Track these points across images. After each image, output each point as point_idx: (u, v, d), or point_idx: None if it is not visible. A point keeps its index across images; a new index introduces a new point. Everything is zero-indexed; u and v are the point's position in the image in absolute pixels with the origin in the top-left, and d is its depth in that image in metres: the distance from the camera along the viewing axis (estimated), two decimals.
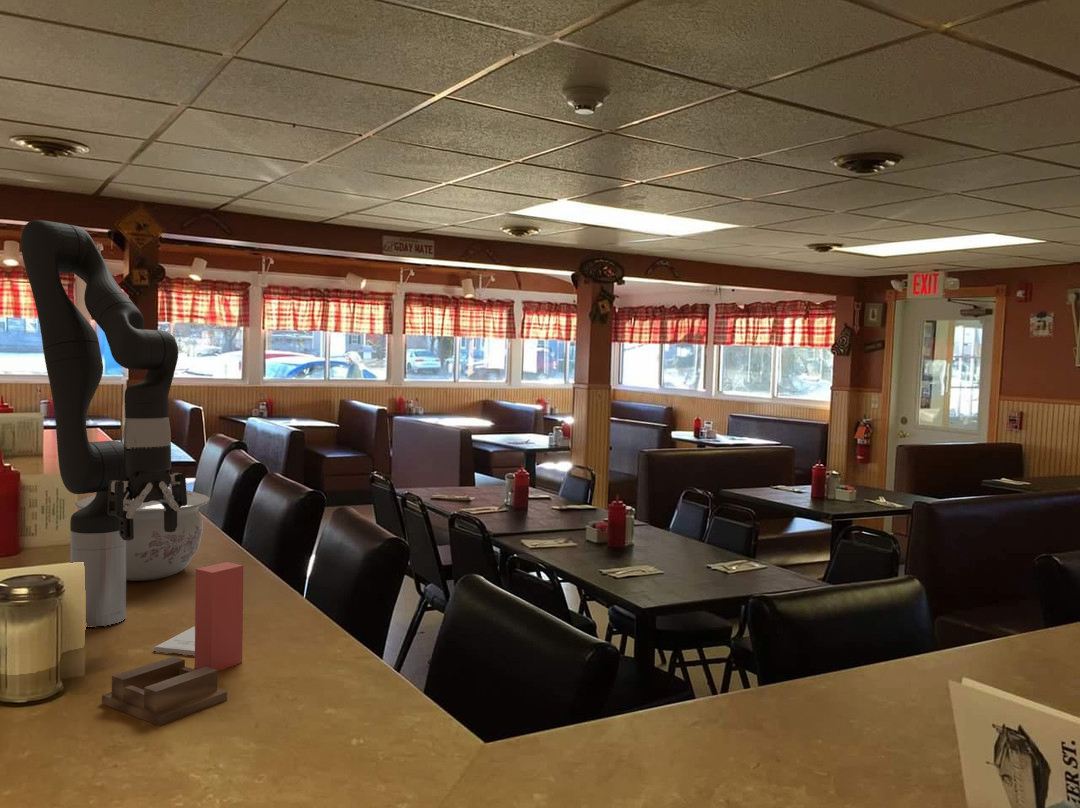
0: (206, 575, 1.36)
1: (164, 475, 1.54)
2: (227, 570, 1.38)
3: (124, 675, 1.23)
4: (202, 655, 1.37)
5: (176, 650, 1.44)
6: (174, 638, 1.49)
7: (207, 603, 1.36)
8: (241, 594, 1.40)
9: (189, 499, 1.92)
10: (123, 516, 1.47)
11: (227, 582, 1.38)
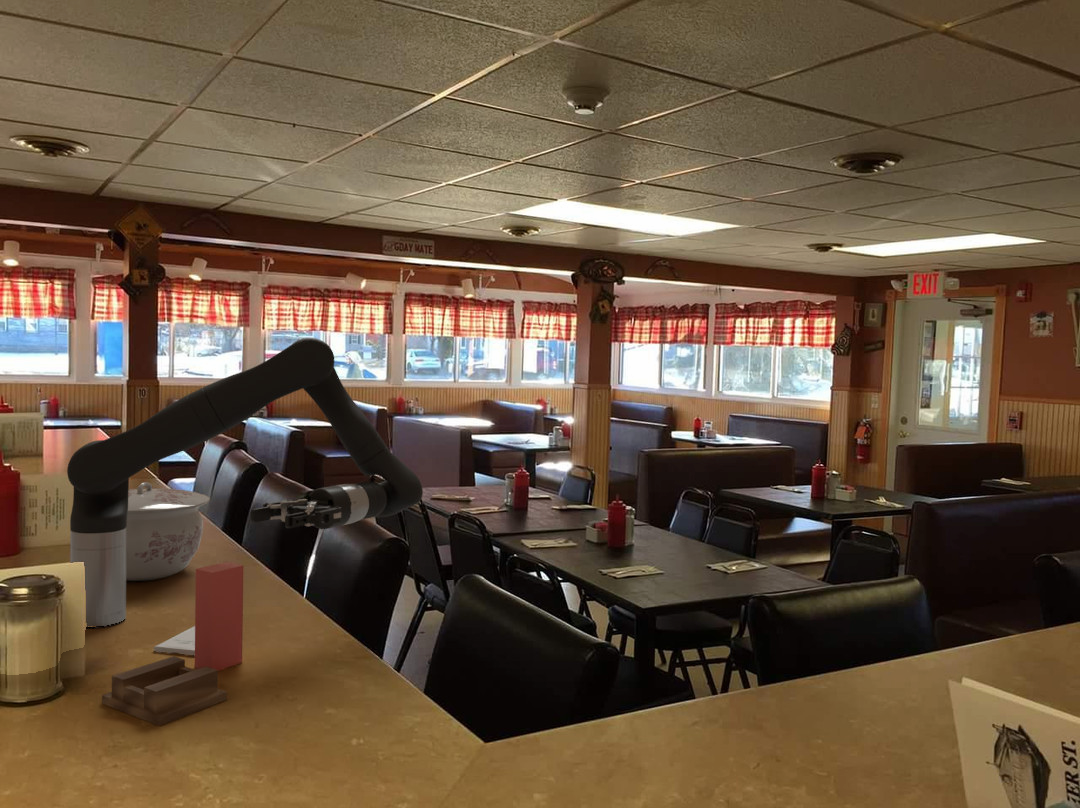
0: (206, 575, 1.36)
1: None
2: (227, 570, 1.38)
3: (124, 675, 1.23)
4: (202, 655, 1.37)
5: (176, 649, 1.44)
6: (174, 638, 1.49)
7: (207, 603, 1.36)
8: (241, 594, 1.40)
9: (189, 499, 1.92)
10: (310, 523, 1.48)
11: (227, 582, 1.38)
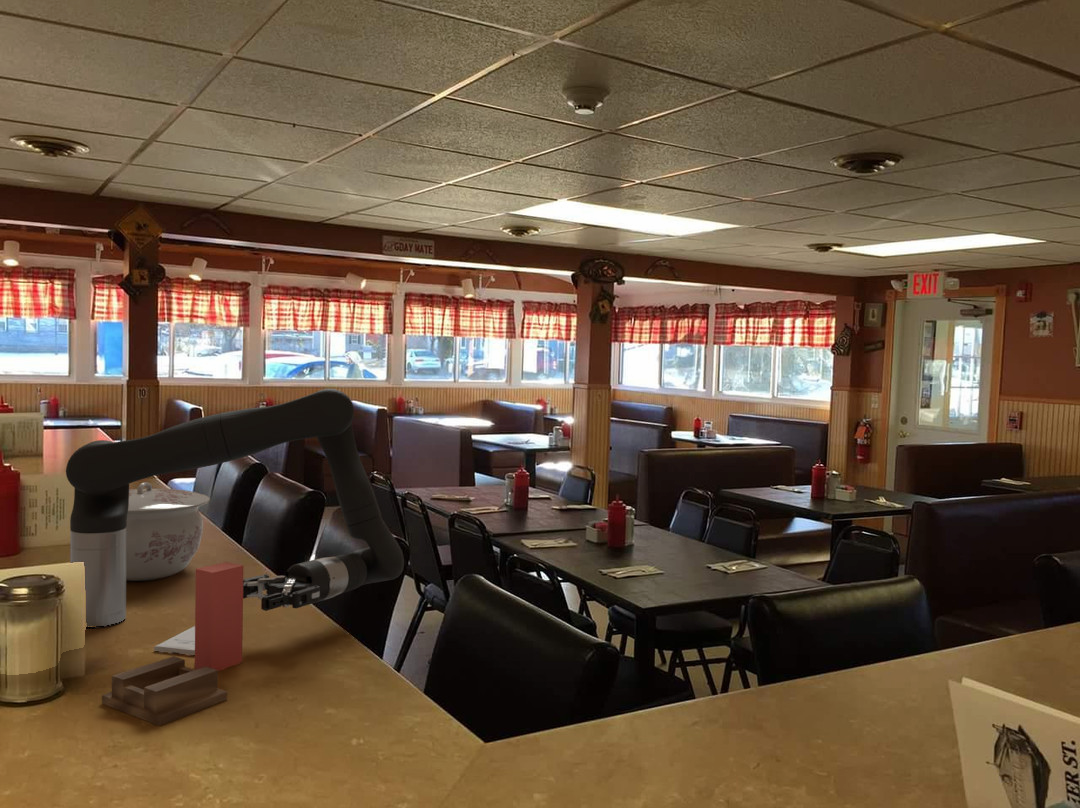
0: (206, 575, 1.36)
1: None
2: (227, 570, 1.38)
3: (124, 675, 1.23)
4: (202, 655, 1.37)
5: (176, 649, 1.44)
6: (175, 637, 1.49)
7: (207, 603, 1.36)
8: (241, 594, 1.40)
9: (189, 499, 1.92)
10: None
11: (227, 582, 1.38)
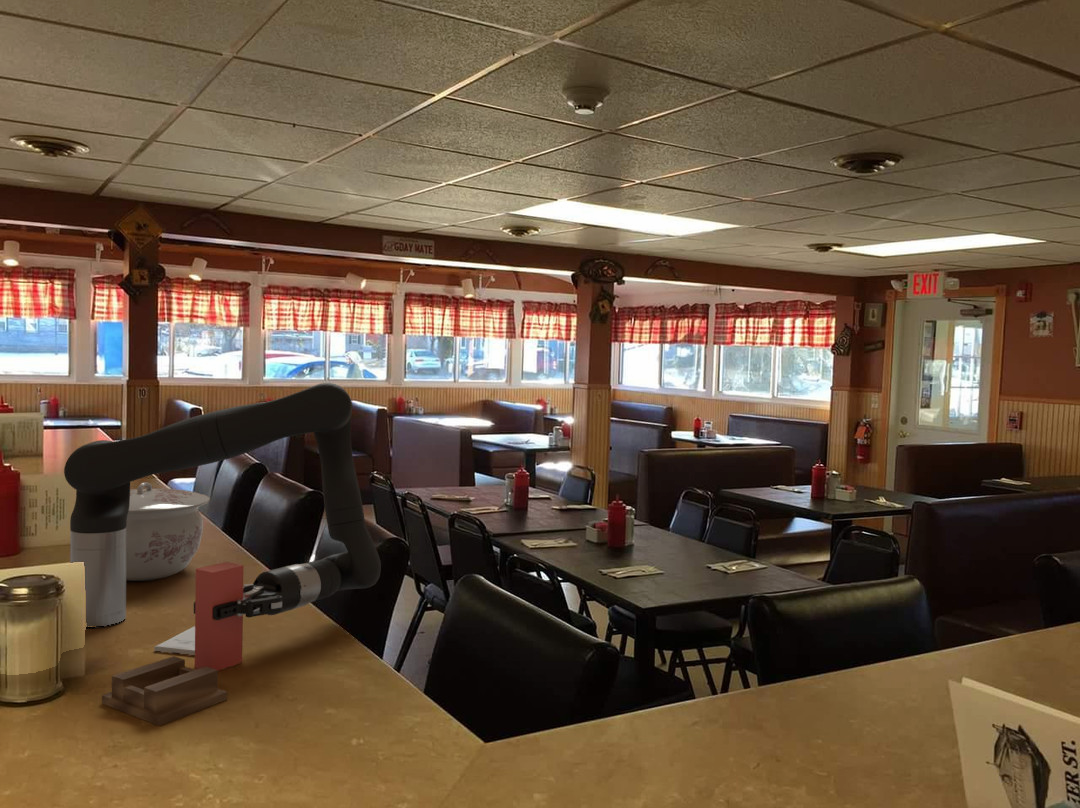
0: (206, 575, 1.36)
1: None
2: (227, 570, 1.38)
3: (124, 675, 1.23)
4: (202, 654, 1.37)
5: (177, 649, 1.44)
6: (175, 638, 1.49)
7: (207, 603, 1.36)
8: (241, 594, 1.40)
9: (189, 499, 1.92)
10: (241, 613, 1.39)
11: (227, 582, 1.38)
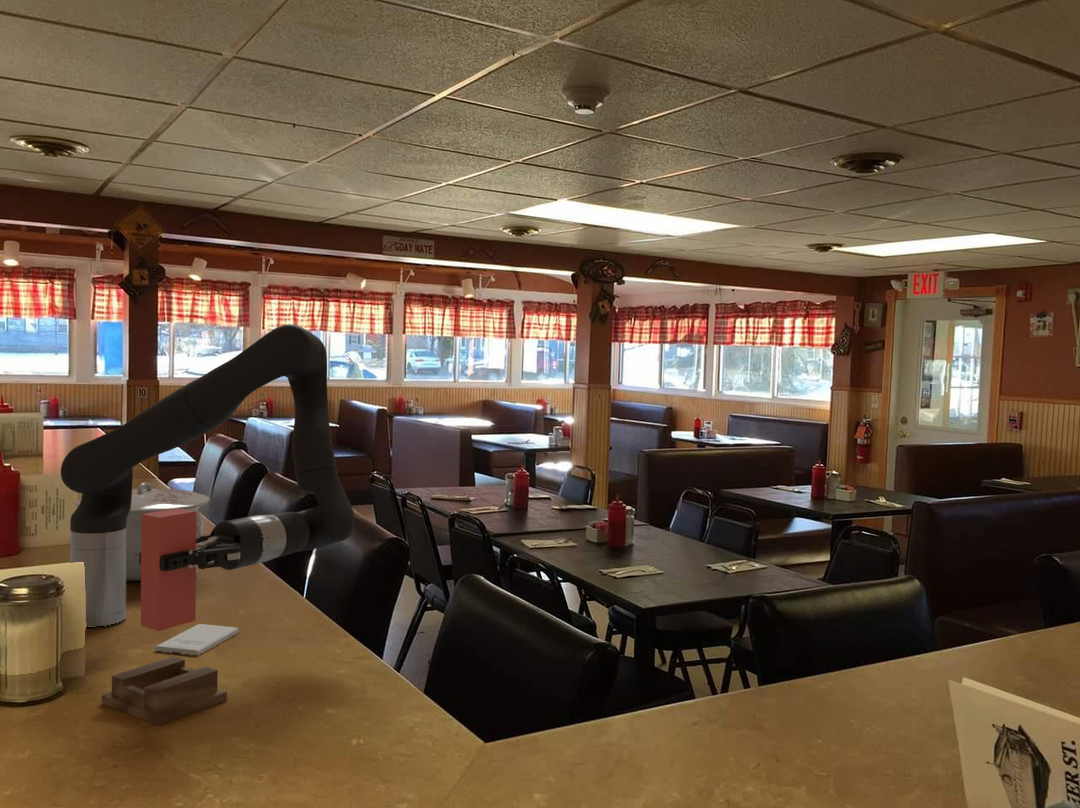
0: (153, 521, 1.21)
1: None
2: (177, 516, 1.22)
3: (124, 675, 1.23)
4: (149, 611, 1.22)
5: (177, 649, 1.44)
6: (175, 637, 1.49)
7: (154, 552, 1.21)
8: (194, 544, 1.25)
9: (189, 499, 1.92)
10: None
11: (177, 529, 1.22)
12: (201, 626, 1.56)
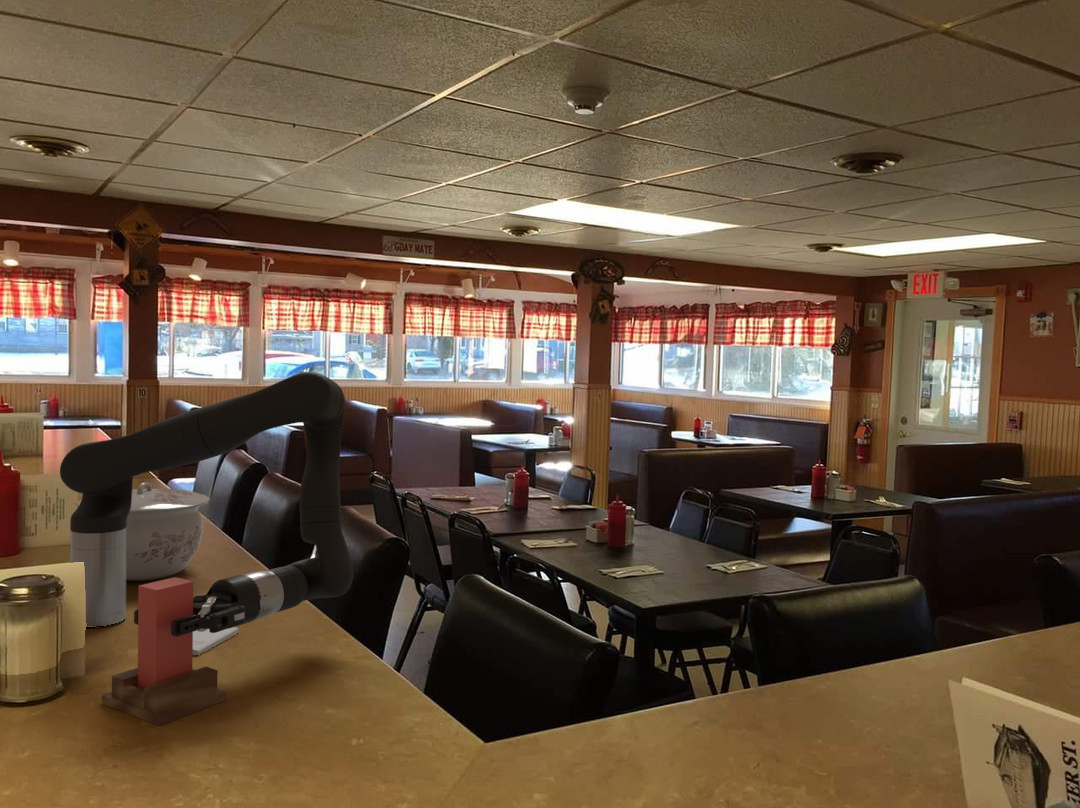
0: (150, 593, 1.21)
1: None
2: (174, 587, 1.23)
3: (124, 675, 1.23)
4: (145, 682, 1.22)
5: None
6: None
7: (151, 624, 1.21)
8: (191, 613, 1.25)
9: (189, 499, 1.92)
10: None
11: (174, 600, 1.23)
12: None
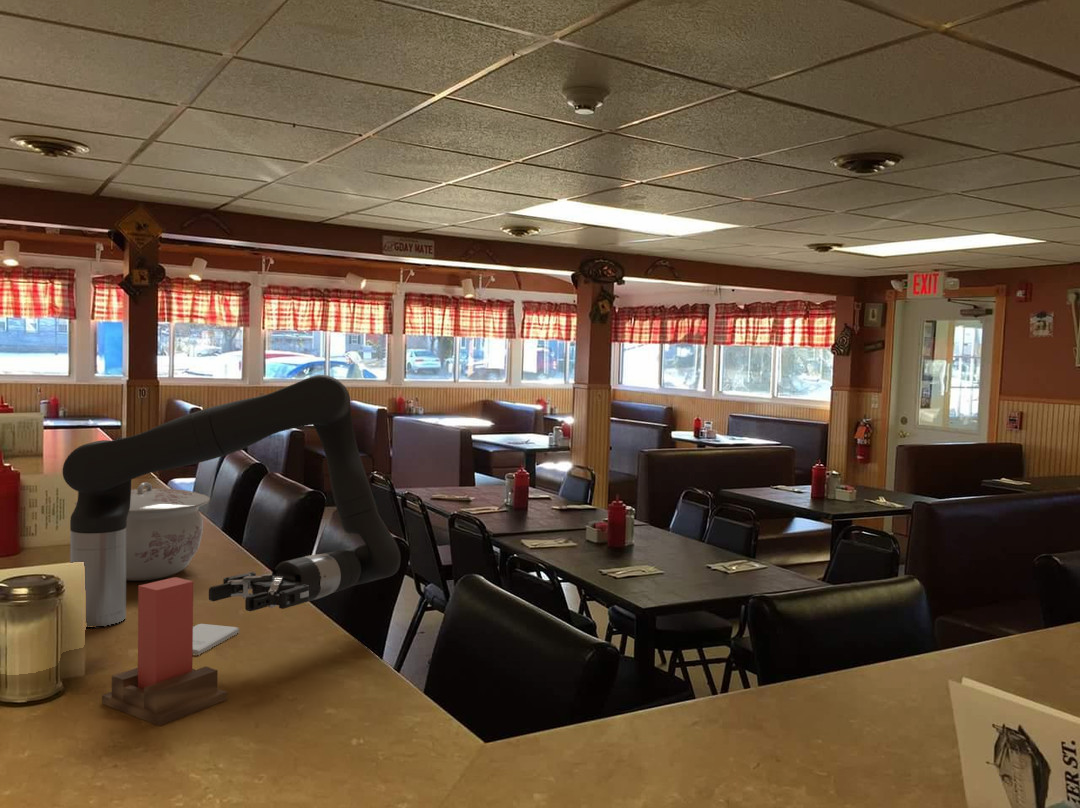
0: (150, 593, 1.21)
1: None
2: (174, 587, 1.23)
3: (124, 675, 1.23)
4: (145, 682, 1.22)
5: None
6: None
7: (151, 624, 1.21)
8: (191, 613, 1.25)
9: (189, 499, 1.92)
10: None
11: (174, 600, 1.23)
12: (202, 626, 1.56)
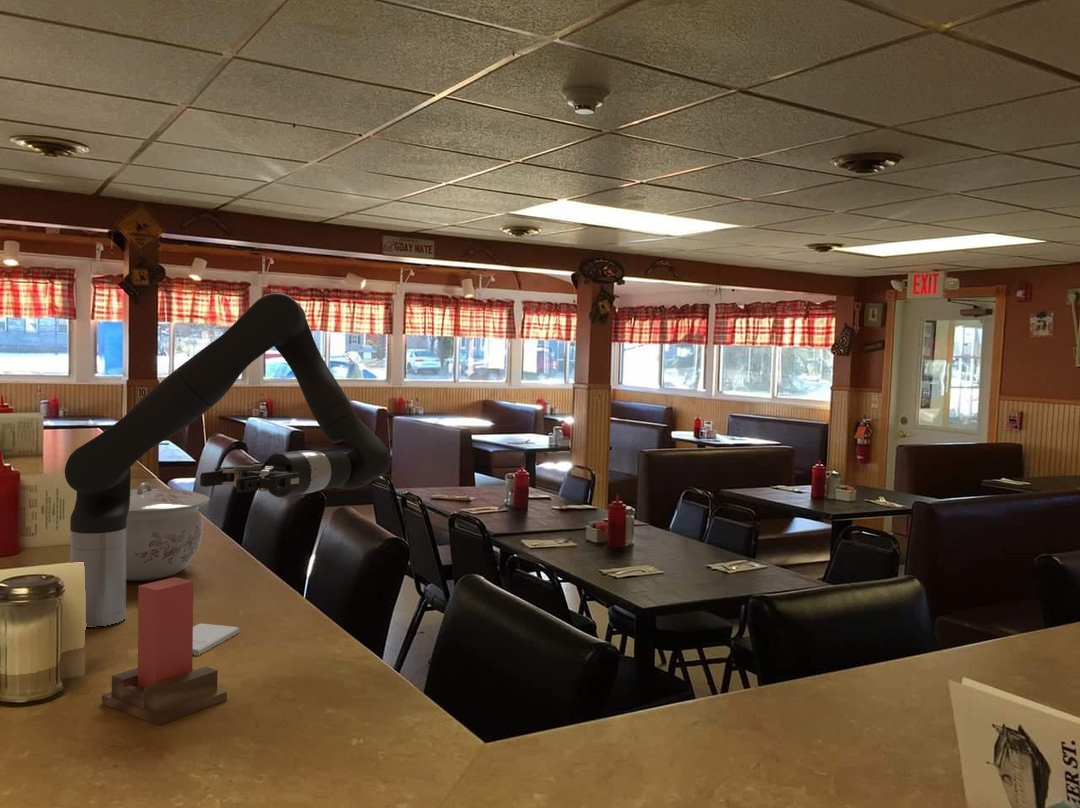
0: (150, 593, 1.21)
1: None
2: (174, 587, 1.23)
3: (124, 675, 1.23)
4: (145, 682, 1.22)
5: None
6: None
7: (151, 624, 1.21)
8: (191, 613, 1.25)
9: (189, 499, 1.92)
10: (265, 487, 1.36)
11: (174, 600, 1.23)
12: (202, 625, 1.56)
